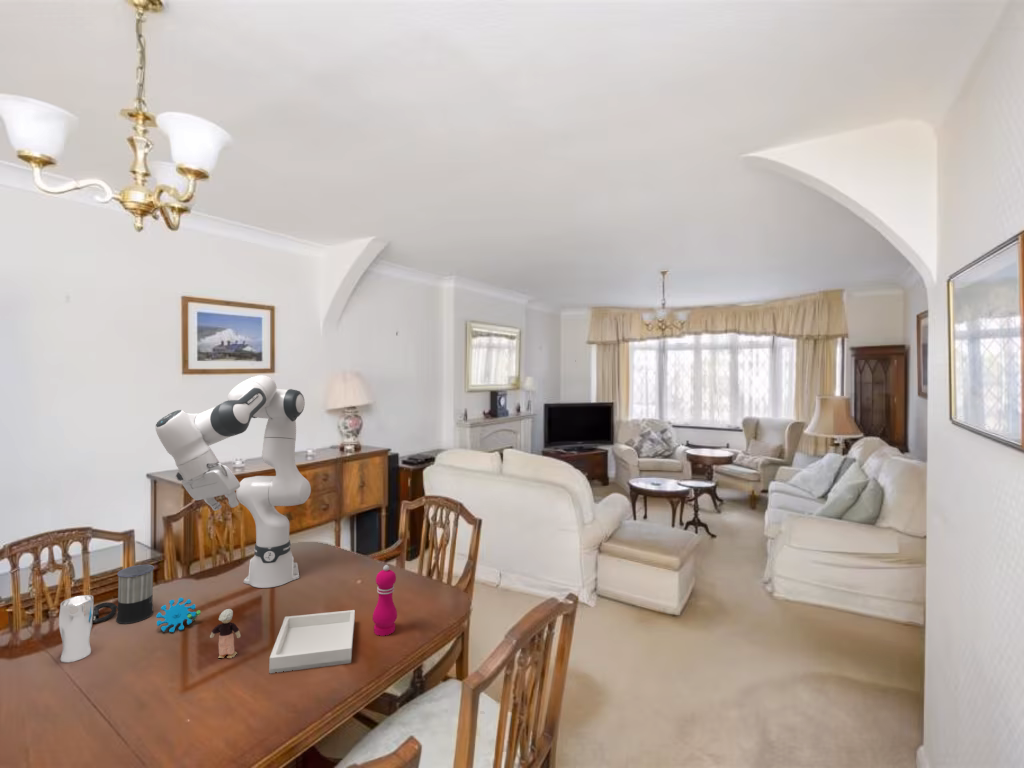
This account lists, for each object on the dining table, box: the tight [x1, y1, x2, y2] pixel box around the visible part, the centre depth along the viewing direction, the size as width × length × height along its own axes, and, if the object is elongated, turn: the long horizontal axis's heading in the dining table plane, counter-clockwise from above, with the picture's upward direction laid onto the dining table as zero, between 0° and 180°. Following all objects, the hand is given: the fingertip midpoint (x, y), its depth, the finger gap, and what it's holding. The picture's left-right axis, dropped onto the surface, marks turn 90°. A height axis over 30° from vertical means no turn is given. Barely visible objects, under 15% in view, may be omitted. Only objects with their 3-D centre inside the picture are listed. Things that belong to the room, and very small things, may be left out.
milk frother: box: [93, 564, 155, 625], centre depth 148 cm, size 14×16×15 cm
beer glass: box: [58, 594, 95, 663], centre depth 128 cm, size 7×7×15 cm
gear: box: [155, 597, 201, 633], centre depth 145 cm, size 11×6×10 cm
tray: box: [268, 609, 356, 674], centre depth 136 cm, size 22×20×4 cm
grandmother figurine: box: [209, 608, 242, 659], centre depth 130 cm, size 8×4×13 cm, turn 109°
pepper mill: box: [372, 564, 398, 637], centre depth 145 cm, size 7×7×20 cm
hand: (226, 507), depth 135 cm, fingers open, 8 cm apart
